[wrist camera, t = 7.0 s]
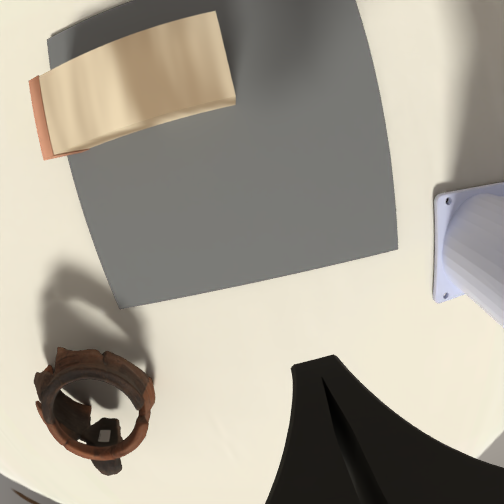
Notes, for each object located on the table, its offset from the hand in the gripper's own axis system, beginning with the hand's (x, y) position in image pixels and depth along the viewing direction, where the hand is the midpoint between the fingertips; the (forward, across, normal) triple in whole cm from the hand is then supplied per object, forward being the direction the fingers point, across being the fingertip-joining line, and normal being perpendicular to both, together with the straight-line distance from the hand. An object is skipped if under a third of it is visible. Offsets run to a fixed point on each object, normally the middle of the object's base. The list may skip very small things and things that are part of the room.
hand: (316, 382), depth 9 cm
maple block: (+8, 0, -11) cm, 14 cm away
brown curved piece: (+11, +15, +8) cm, 21 cm away
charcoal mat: (+10, +1, -8) cm, 13 cm away
